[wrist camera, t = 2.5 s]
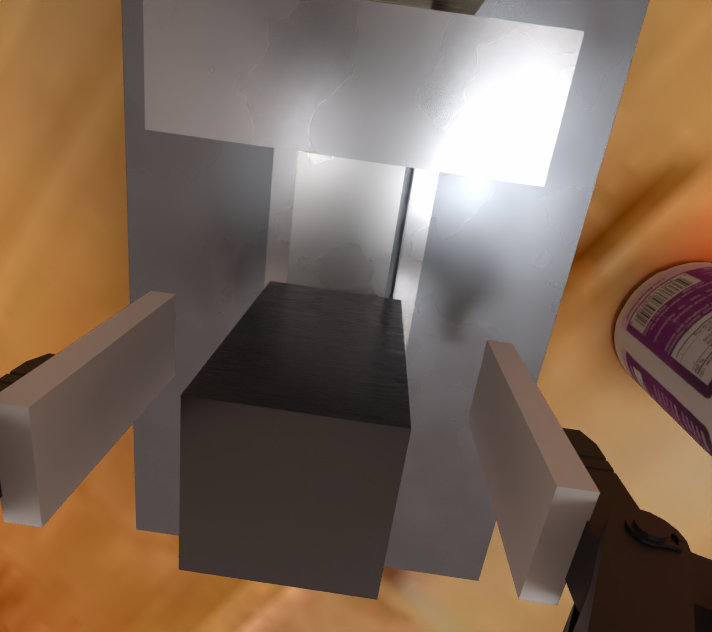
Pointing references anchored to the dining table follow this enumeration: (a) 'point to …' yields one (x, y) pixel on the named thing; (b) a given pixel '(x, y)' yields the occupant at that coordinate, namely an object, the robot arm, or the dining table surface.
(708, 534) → the dining table surface
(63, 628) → the dining table surface
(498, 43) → the slotted base plate
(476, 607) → the dining table surface
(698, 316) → the pill bottle
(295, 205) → the sliding bolt with handle
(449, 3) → the block
